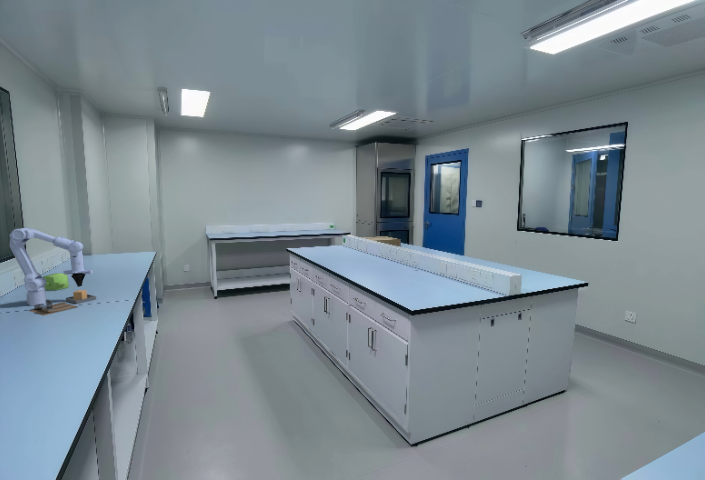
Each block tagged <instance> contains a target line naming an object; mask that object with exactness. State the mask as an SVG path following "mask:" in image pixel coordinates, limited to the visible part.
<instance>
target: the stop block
mask: <svg viewBox="0 0 705 480" xmlns="http://www.w3.org/2000/svg"><path fill="white" fill-rule="evenodd" d="M87 294H88V293H87V289H80V290H79V289H78V290H76V291H73V293H72V296H74V300H80V299H85V298H87Z"/></svg>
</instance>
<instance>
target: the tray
mask: <svg viewBox="0 0 705 480" xmlns="http://www.w3.org/2000/svg"><path fill="white" fill-rule="evenodd" d="M96 300H97V296H96V295H93V294H88V293H87V298H85V299H80V300H74V296H73V295H72V296H68V297H65V301H66V302H68V303H70V304H71V303H72V304H75V305H79V304H84V303H87V302H92V301H96Z"/></svg>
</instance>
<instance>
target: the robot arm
mask: <svg viewBox="0 0 705 480" xmlns="http://www.w3.org/2000/svg"><path fill="white" fill-rule="evenodd" d="M9 238H10V239H9V248H10V249H11V252H12V253H13V255H14V257H15V260H16V262H17V264H18V265H19V267H20V269H21V271H22V273H23V275H24V278H23V281H24V287H25V289H26V291H27V293H26V295H25V296H26V302H27V305H29V306H31V307H34V305H36V304H44V305H46V300H47V295H46V289H45V285H46V280H45V278H43V275H42V274H41V273H39V272H38V271H37V269H36V266H35V265H34V263H33V261H32V259H31V258H30V256H29V254H28V252H27V250H26V248H25V245H26V243H27V242H28V241H29V240H30V239H39V240H43V241H46V242H49V243H52V244H53V246H54V247H57V248H60V249H64V250H66V251H68V252H69V255H70V256H69V257H70V266H71V270H69V269H68V270H63V274H64V275H66V274H67V275H71V276H70V277H71V278H72V279H73V280H74V282H75V284H76V286H77V287H78V288H79V287H82V286H83V282H84V279H85V276H86V275H87V274H88V275H92V274H93V273H94V270H93V269H85V266H84V265H85V263H84V256H83V250H84V244H83V243H82V242H80V241H75V240H74V239H72V240H71V239H68V238H66V237H65V236H64V235H63V236H57V237H56V236H53V235H51V234H49V233H46V232H42V231H40V230H38V229H35V228H31V227H22V228H15V229H13V230H12V231H11V232H10V234H9Z"/></svg>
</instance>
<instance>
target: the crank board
mask: <svg viewBox="0 0 705 480" xmlns="http://www.w3.org/2000/svg"><path fill="white" fill-rule="evenodd" d="M52 306H53V310H49V311H48V310H45V309H40V310H35V309H34V308H31V309H27V311H28V312H31V313H35V314H37V315H41V316H48V315H53V314H56V313H60V312H65V311H69V310H72V309H76V308H79V306H77V305H73V304H71V303H66V302H59V303H58V302H57V303H55V304H53V303H52Z"/></svg>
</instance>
